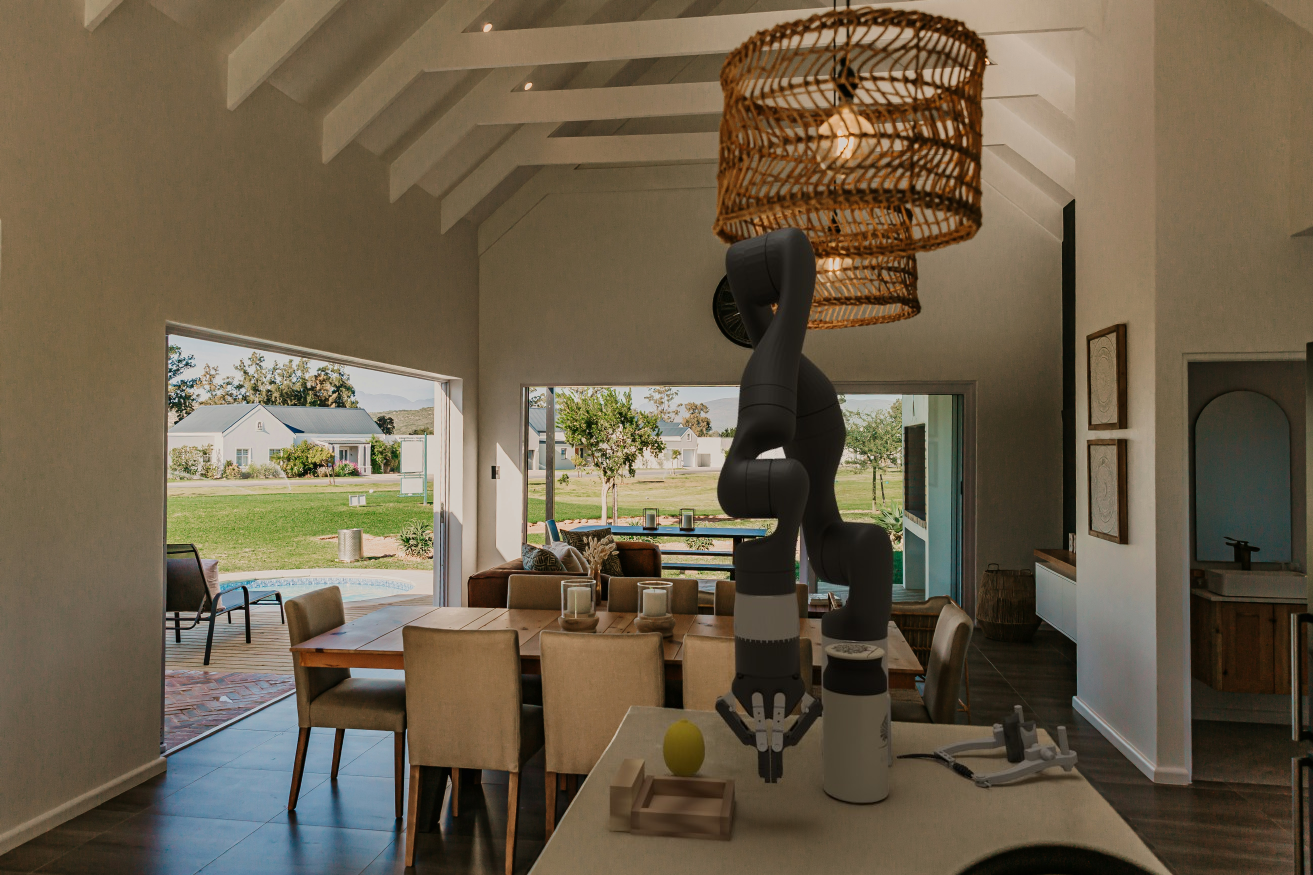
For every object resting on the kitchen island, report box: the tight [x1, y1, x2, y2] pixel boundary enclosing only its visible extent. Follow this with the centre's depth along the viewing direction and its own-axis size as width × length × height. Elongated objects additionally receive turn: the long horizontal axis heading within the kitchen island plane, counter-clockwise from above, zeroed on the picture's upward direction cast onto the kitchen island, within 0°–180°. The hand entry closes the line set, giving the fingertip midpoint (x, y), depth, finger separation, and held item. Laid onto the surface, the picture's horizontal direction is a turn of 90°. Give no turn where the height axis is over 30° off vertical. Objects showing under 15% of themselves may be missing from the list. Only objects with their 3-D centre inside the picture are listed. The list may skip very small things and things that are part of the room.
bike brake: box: [896, 704, 1079, 788], centre depth 114 cm, size 14×7×20 cm
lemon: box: [662, 718, 706, 777], centre depth 110 cm, size 6×6×8 cm
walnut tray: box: [630, 774, 736, 842], centre depth 99 cm, size 11×11×3 cm
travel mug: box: [822, 643, 889, 804], centre depth 106 cm, size 8×8×18 cm
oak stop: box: [609, 758, 646, 833], centre depth 99 cm, size 2×9×5 cm, turn 171°
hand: (770, 780), depth 97 cm, fingers closed
